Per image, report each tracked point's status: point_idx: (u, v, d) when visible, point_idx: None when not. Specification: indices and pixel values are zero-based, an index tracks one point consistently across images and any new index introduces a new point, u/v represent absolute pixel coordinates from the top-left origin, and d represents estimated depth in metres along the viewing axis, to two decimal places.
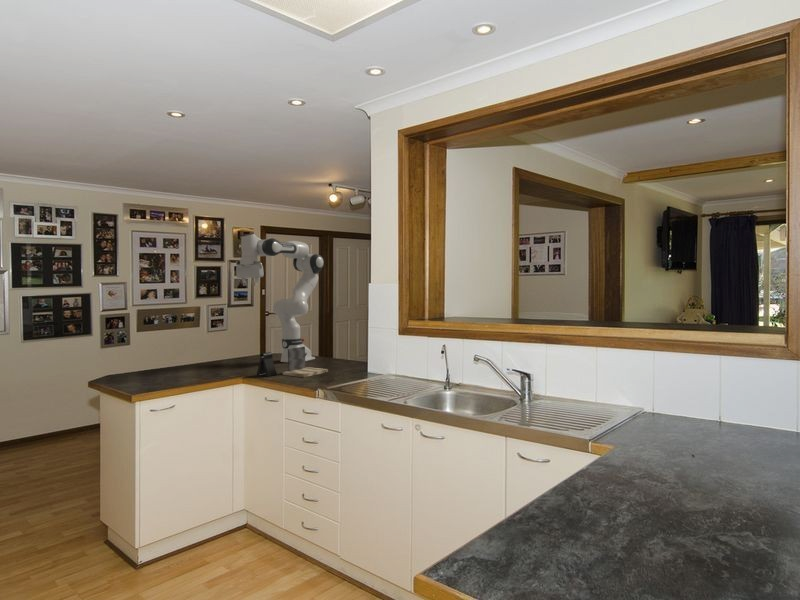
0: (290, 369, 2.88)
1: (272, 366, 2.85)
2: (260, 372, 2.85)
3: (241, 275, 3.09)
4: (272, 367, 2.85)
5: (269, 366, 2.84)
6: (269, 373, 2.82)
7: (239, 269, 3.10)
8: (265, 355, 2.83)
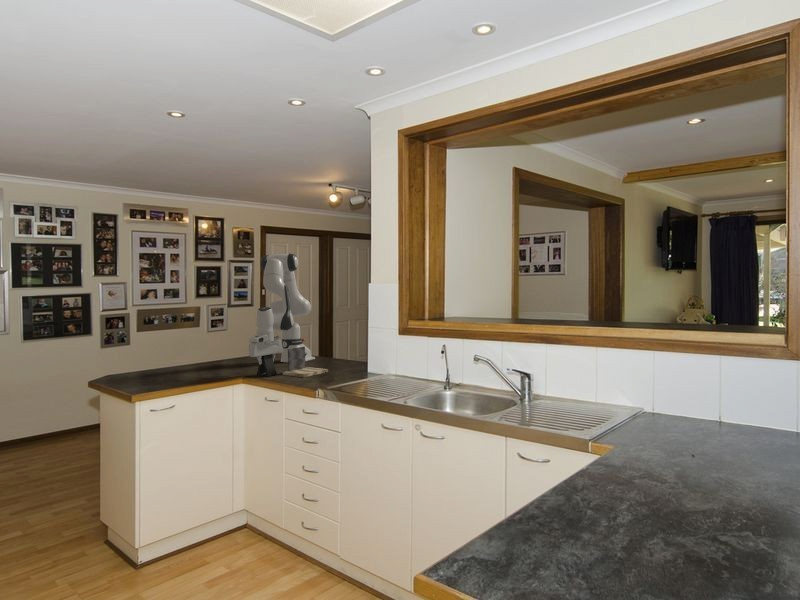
0: (290, 369, 2.88)
1: (272, 366, 2.85)
2: (260, 372, 2.85)
3: (260, 353, 2.80)
4: (272, 367, 2.85)
5: (269, 366, 2.84)
6: (269, 373, 2.82)
7: (257, 347, 2.79)
8: (265, 355, 2.83)
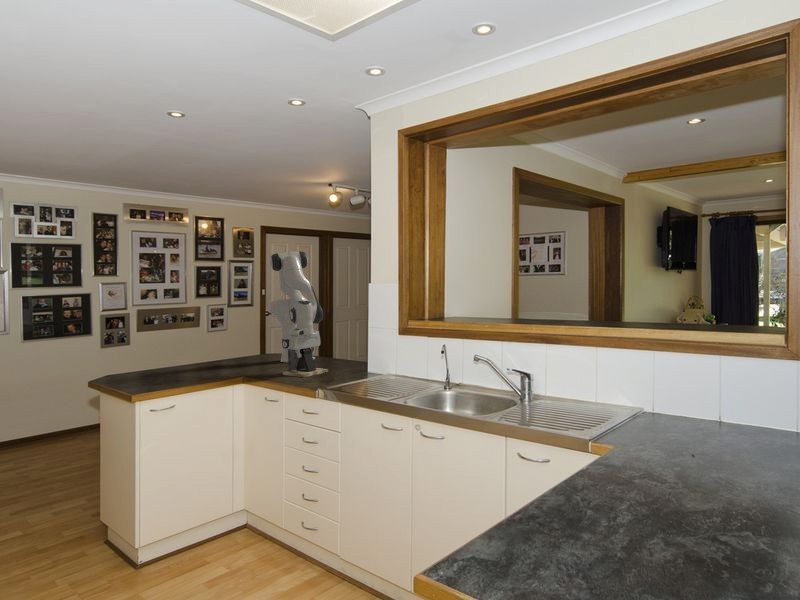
0: (290, 369, 2.88)
1: (311, 361, 2.88)
2: (300, 367, 2.88)
3: (300, 346, 2.82)
4: (311, 362, 2.88)
5: (309, 361, 2.86)
6: (309, 368, 2.85)
7: (297, 340, 2.81)
8: (305, 350, 2.86)
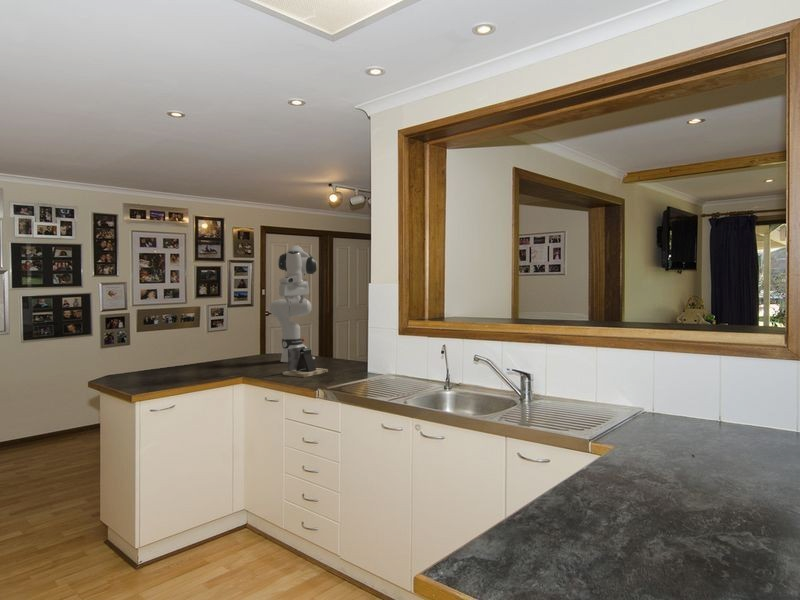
0: (290, 369, 2.88)
1: (311, 362, 2.88)
2: (300, 367, 2.88)
3: (289, 293, 2.97)
4: (311, 363, 2.88)
5: (309, 361, 2.86)
6: (309, 368, 2.85)
7: (287, 287, 2.96)
8: (305, 351, 2.86)
